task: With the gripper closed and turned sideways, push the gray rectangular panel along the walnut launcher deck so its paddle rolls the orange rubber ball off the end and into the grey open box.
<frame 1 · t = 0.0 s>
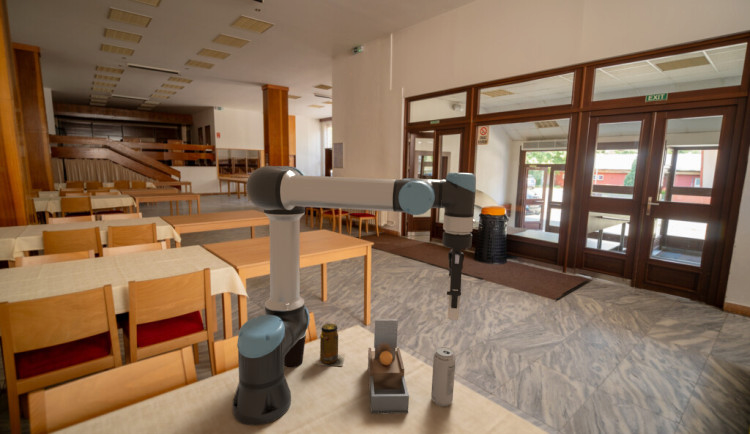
hand: (452, 308, 94), 28 cm above the table, tool pointing down, fingers open, 13 cm apart
energy drink can: (441, 401, 99), on the table
launcher: (386, 391, 102), on the table
gray rectangular panel: (385, 338, 107), point 13 cm above the table, slide at 0.0 cm
ball: (385, 358, 105), point 8 cm above the table, touching launcher
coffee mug: (294, 360, 117), on the table
grey open box: (386, 391, 102), on the table
condiment: (331, 360, 117), on the table
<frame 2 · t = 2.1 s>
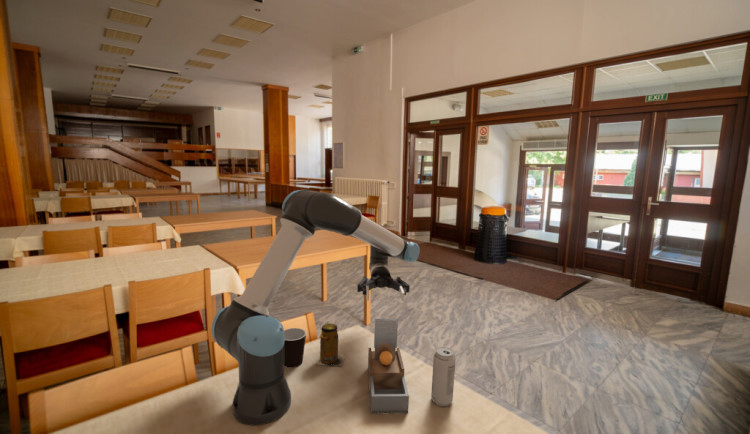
hand: (385, 296, 111), 24 cm above the table, tool horizontal, fingers open, 11 cm apart
nothing on the table moved.
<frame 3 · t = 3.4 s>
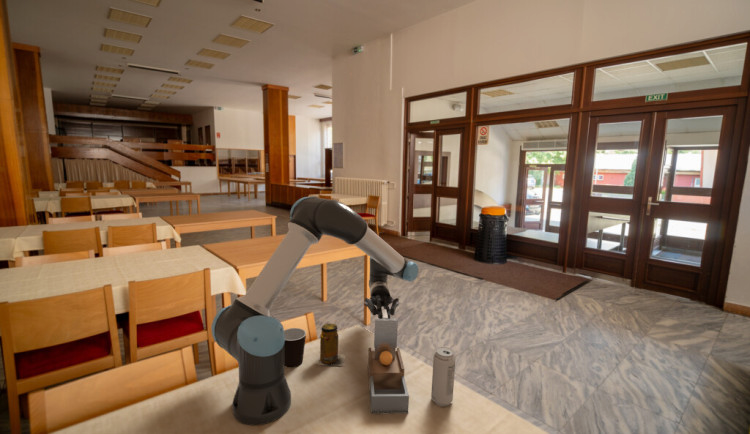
hand: (385, 321, 111), 16 cm above the table, tool horizontal, fingers closed
nothing on the table moved.
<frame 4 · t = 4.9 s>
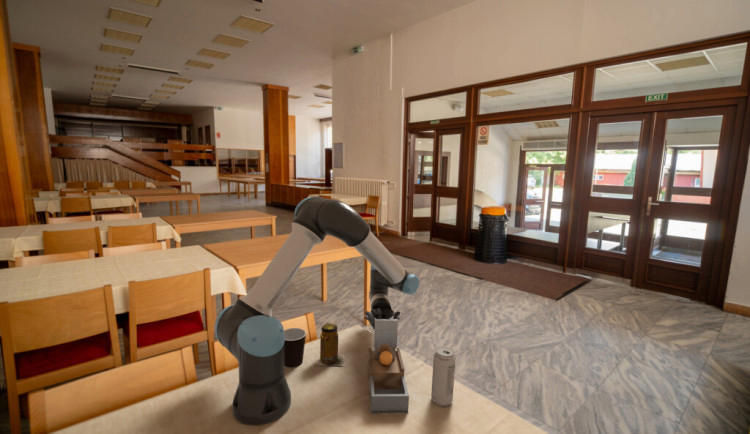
hand: (387, 336, 108), 13 cm above the table, tool horizontal, fingers closed
gray rectangular panel: (385, 339, 107), point 13 cm above the table, slide at 0.2 cm, touching gripper
everything else where it was.
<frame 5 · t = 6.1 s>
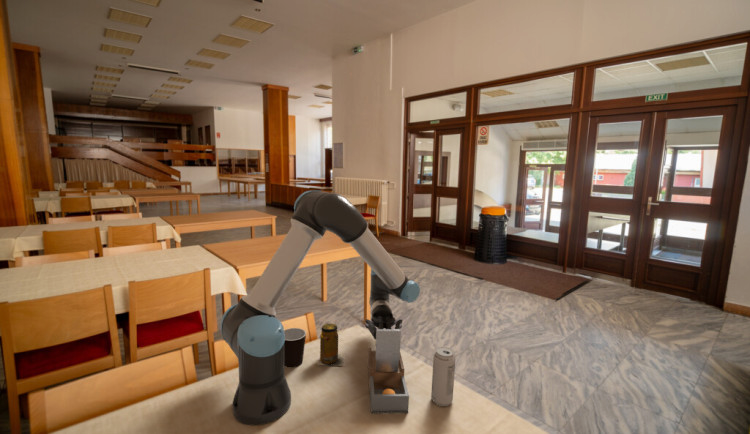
hand: (388, 347, 101), 13 cm above the table, tool horizontal, fingers closed
gray rectangular panel: (387, 350, 101), point 13 cm above the table, slide at 6.9 cm, touching gripper
ball: (388, 396, 95), point 3 cm above the table, tilted 27°, touching grey open box
everything else where it was.
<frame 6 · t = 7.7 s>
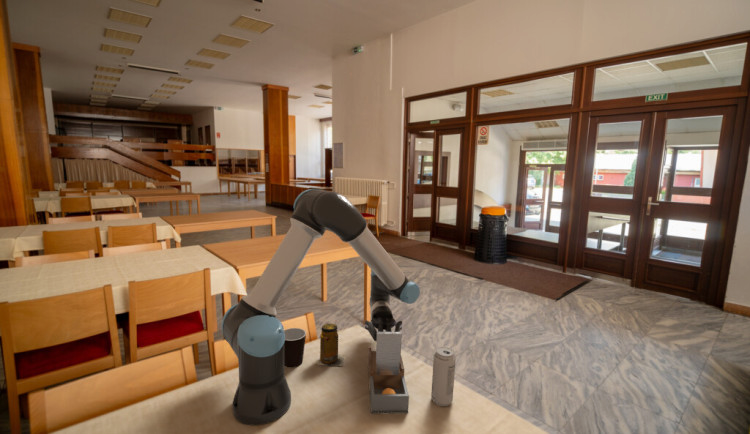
hand: (388, 349, 100), 13 cm above the table, tool horizontal, fingers closed
gray rectangular panel: (388, 353, 99), point 13 cm above the table, slide at 8.5 cm
ball: (388, 396, 95), point 3 cm above the table, tilted 34°, touching grey open box
everything else where it was.
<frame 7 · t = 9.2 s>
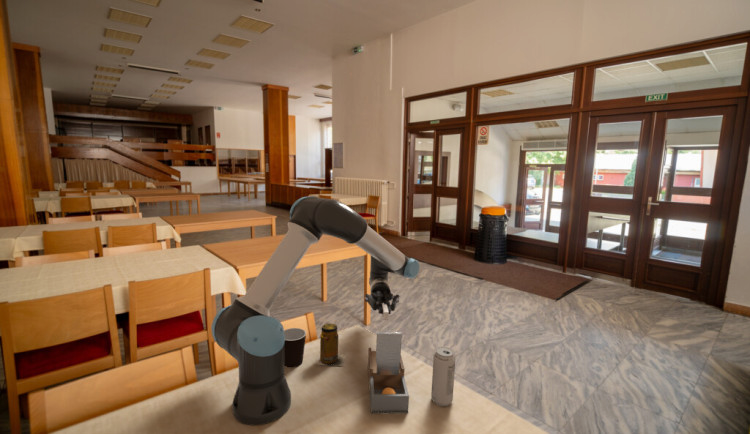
hand: (386, 316, 111), 18 cm above the table, tool horizontal, fingers closed
ball: (388, 395, 96), point 3 cm above the table, tilted 41°, touching grey open box
everything else where it was.
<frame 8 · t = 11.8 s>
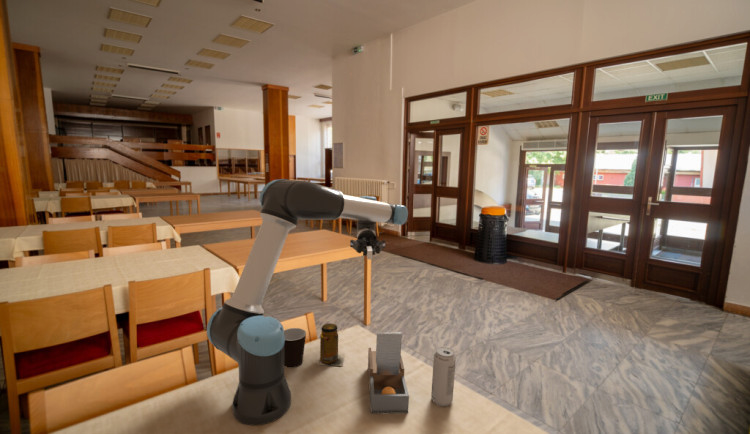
hand: (369, 255, 108), 38 cm above the table, tool horizontal, fingers closed
ball: (388, 394, 96), point 3 cm above the table, tilted 52°, touching grey open box
everything else where it was.
at the end: ball inside the target area on the grey open box (1.1 cm from its centre), point 2.8 cm above the grey open box's base; gray rectangular panel slide at 8.5 cm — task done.
